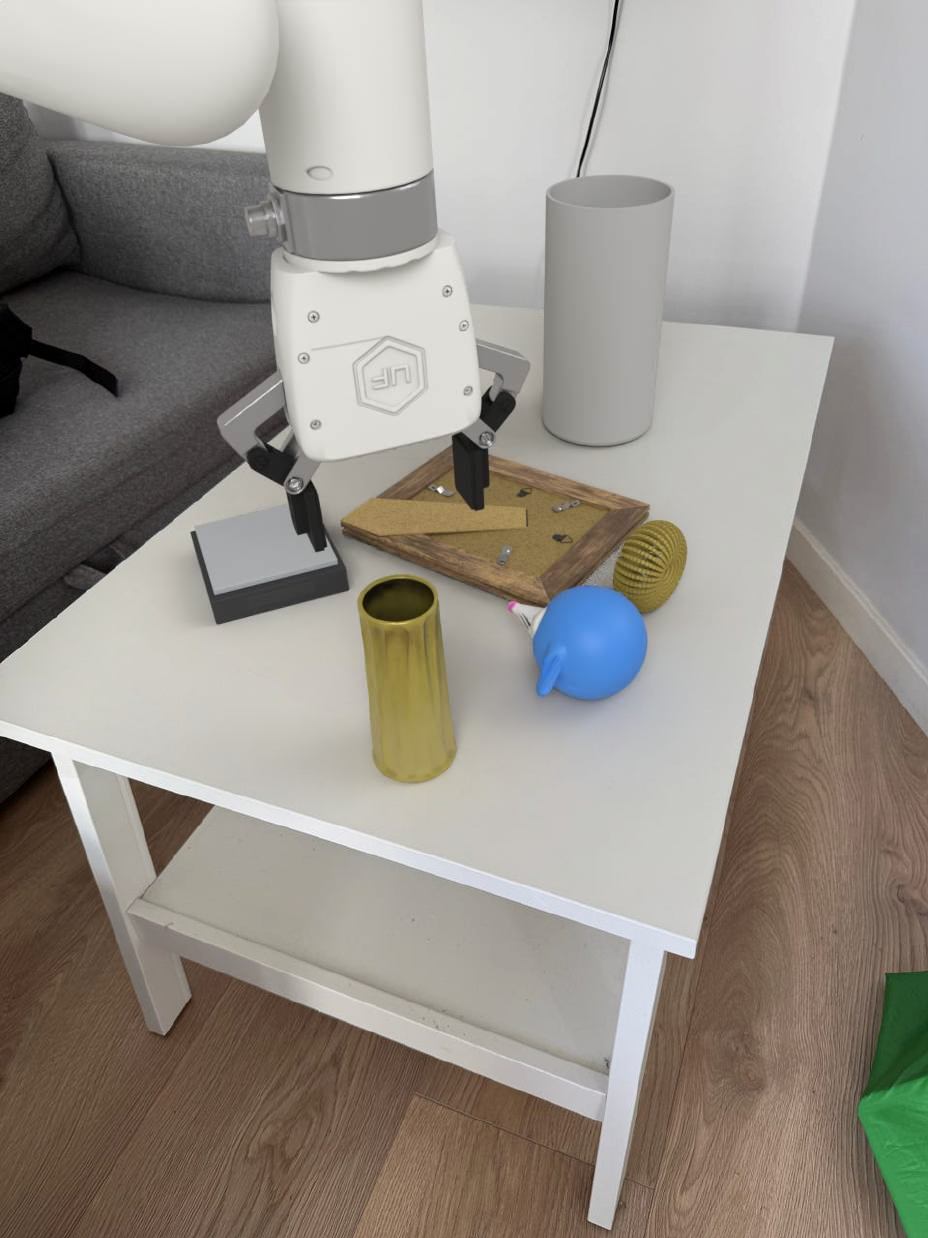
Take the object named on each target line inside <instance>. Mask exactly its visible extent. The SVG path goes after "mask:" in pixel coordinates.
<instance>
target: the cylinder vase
mask: <svg viewBox="0 0 928 1238" xmlns="http://www.w3.org/2000/svg"><path fill="white" fill-rule="evenodd" d="M675 195H676V190H675V187H673V185H671V184H669V183H668V182H665V181H663V180H660V179H656V178H652V177H648V176H647V177H646V176H639V175H632V174H631V175H630V174H596V175H595V174H594V175H586V176H577V177H573V178H569V179H568V178H567V179H563V180H560V181H558V182H555V183H554V184H551V185H550V186H549V187H547V188H546V191H545V223H544V224H545V225H544V226H545V227H544V229H545V230H544V236H545V237H544V243H545V245H544V289H543V290H544V292H543V293H544V295H543V296H544V297H543V306H544V307H543V354H542V355H543V356H542V357H543V360H542V361H543V362H542V421H543V424H544V426H545V428H546V429H547V431H549V432H550V433H551V434H553V435H554V436H555V437H557V438H559V439H560V440H562V441H566V442H568V443H571V444H575V445H579V446H588V447H610V446H617V445H622V444H626V443H629V442H631V441H634V440H636V439H638V438H640V437H641V436H643V435H644V434H645V433H646V432H648V430H649V428H650V427H651V426H652V423H653V419H654V409H655V408H654V407H655V399H656V388H657V379H658V378H657V377H658V367H659V357H660V347H661V338H662V327H663V317H664V307H665V295H666V287H667V286H666V285H667V278H668V277H667V275H668V266H669V256H670V246H671V237H672V236H671V235H672V225H673V216H674V205H675Z"/></svg>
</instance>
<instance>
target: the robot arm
mask: <svg viewBox="0 0 928 1238" xmlns="http://www.w3.org/2000/svg"><path fill="white" fill-rule="evenodd" d="M424 20H425V19H424V7H423V0H0V93H1V94H5V95H7V96H11V97H13V98H15V99H20V100H23V101H25V102H27V103H31V104H34V105H37V106H39V107H41V108H42V107H43V108H45V109H48V110H51V111H54V112H55V113H56V112H57V113H60V114H62V115H65V116H67V117H70V118H74V119H75V120H79V121H82V122H84V123H87V124H90V125H93V126H96V127H99V128H102V129H104V130H107V131H111V132H113V133H117V134H118V135H119V134H120V135H122V136H125V137H129V138H132V139H136V140H139V141H142V142H146V143H149V144H153V145H159V146H165V147H187V148H188V147H194V146H200V145H206V144H211V143H213V142H216V141H217V140H218V141H219V140H221V139H223V138H225V137H228V136H229V135H231V134H233V133H234V132H235V131H236V130H238V129H240V128H242V127H243V126H244V125H245V124H246V123H247V122H248V121H249V120H250V119H251V117H252V116H253V115H254V114H255V113H256V112H257V111H258V115H259V121H260V126H261V132H262V139H263V143H264V149H265V154H266V160H267V167H268V172H269V176H270V180H269V181H267V184H268V190H269V192H266V199H265V200H260V201H259V204H253V205H248V206H244V207H243V209H244V210H243V211H244V219H245V223H246V227H247V230H248V234H249V236H250V238H251V239H253V238H258V237H264V236H266V238H267V239H273V238H274V239H275V240H276V241H277V243H278V244H281V246H280V247H277V248H276V249H274V250H273V251H272V253H271V257H270V308H271V310H270V311H271V322H272V323H271V324H272V334H273V344H274V353H275V362H276V369H277V370H276V371H275V372H274V373H273V374H271V375H270V376H269V377H267V378H266V379H265V380H263V381H262V382H261V383H260V384H258V385H257V386H256V387H255V388H253V389H252V390H251V391H249V392H248V393H246V395H244V396H243V397H242V398H240V399H239V400H237V401H236V402H235V403H234V404H233V405H231V406H230V407H229V408H227V409H226V410H225V411H224V412H222V413H221V414H219V416H218V417H217V419H216V425H217V427H218V430H219V433H220V435H221V437H222V438H223V439H224V440H225V441H226V443H227V444H228V445H229V446H230V447H231V448H232V449H233V450H234V451H235V452H236V453H237V455H239V456H240V457H241V458H242V459H243V460H244V461H245V462H246V464H248V467H250V469H251V470H252V471H253V472H256V473H257V474H259V475H261V476H263V477H265V478H266V479H268V480H270V481H272V482H273V483H276V484H278V485H279V486H281V487H283V488H284V491H285V494H286V499H287V505H288V504H289V509H290V514H291V519H292V523H293V526H294V529H295V531H296V533H297V535H302V534H306V533H307V535H308V537H309V540H310V542H311V544H312V546H313V548H314V550H315V552H320V551H324V550H325V548H326V547H327V541H326V536H325V530H324V525H325V523H324V519H323V514H322V507H321V503H320V502H321V501H320V497H319V494H318V490H317V488H316V486H315V484H314V482H313V480H312V478H313V476H314V475H315V473H316V471H317V470H318V468H319V466H320V465H321V463H338V462H344V461H350V460H353V459H357V458H363V457H366V456H371V455H376V454H381V453H385V452H388V451H392V450H397V449H401V448H406V447H410V446H413V445H414V446H415V445H418V444H422V443H426V442H430V441H435V440H439V439H442V438H446V437H450V436H451V445H452V449H453V464H454V478H455V487H456V490H457V491H458V493H459V494H460V495H461V497H462V498H463V499H464V500H465V502H466V503H467V504H468V506H469V507H470V508H471V510H473V509H474V510H475V511H478V510H482V509H484V488H488V487H489V485H490V480H489V455H490V454H489V448H491V447H492V446H493V445H494V444H495V443H496V440H497V435H496V434H497V432H498V431H499V429H500V428H501V427H502V426H503V424H504V423H505V422H506V420H507V419H508V418H509V416H510V415H511V414H512V413H513V411H514V410H515V408H516V407H517V401H516V399H517V396H518V394H519V395H520V393H521V390H522V388H523V386H524V383H525V382H526V379H527V377H528V375H529V372H530V371H531V370H530V369H531V363H530V361H529V359H528V358H526V357H525V356H524V355H523V354H522V353H520V352H519V351H517V350H515V349H511V348H508V347H505V346H502V345H500V344H495V343H492V342H490V341H486V340H483V339H480V338H478V337H476V334H475V327H474V321H473V315H472V308H471V307H472V306H471V302H470V297H469V291H468V284H467V280H466V275H465V272H464V267H463V262H462V258H461V254H460V251H459V247H458V244H457V240H456V236H454V235H452V234H451V233H450V232H447V231H445V230H444V229H442V228H440V227H438V215H437V214H438V213H437V198H436V197H437V196H436V184H435V170H434V155H433V139H432V124H431V111H430V95H429V82H428V81H429V79H428V67H427V65H428V63H427V51H426V37H425V36H426V35H425V34H426V33H425V21H424ZM480 369H482V370H485V371H488V372H492V373H495V374H494V378H493V380H492V381H493V383H492V385H490V386H489V387H488V388H487V389H486V391H485V392H484V393H483V394H482V384H481V374H480ZM282 409H283V411H284V415H285V419H286V422H287V423H288V425H289V426H290V427H291V430H290V431H289V433H288V435H287V436H286V438H285V440H284V441H283V443H282V444H281V446H280V448H276V447H274V446H273V445H271V444H269V443H268V442H266V441H264V440H263V439H260V438H259V437H258V436H257V434H256V433H255V432H256V430H257V428H259V427H260V426H261V425H262V424H263V423H265V422H266V421H267V420H269V419H270V418H271V417H273V416H274V415H275V414H277V413H278V412H280V410H282ZM488 454H489V455H488ZM323 523H324V524H323Z"/></svg>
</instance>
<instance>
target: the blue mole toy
mask: <svg viewBox="0 0 928 1238" xmlns="http://www.w3.org/2000/svg"><path fill="white" fill-rule="evenodd" d="M507 608H508V609H507V610H508V611H509V612H510V613H513V614H514V615H516V617H518V619H519V621H521V623H522V626H523V627H524V628H525V629H526V631H527V632H528V634H529V636H530V638H531V641H532V654H533V658H534V661H535V663H536V666H537V668H538V669H539V671H540V674H539V677H538V680H537V683H536V686H535V694H536V695H537V696H538V697H540V698H544V697H546V696H548V695H549V694H550V692H552V689H553V688H555V689H556V690H558V691H559V692H561V693H562V694H564V695H566V696H569V697H571V698H573V699H579V700H584V701H585V700H586V701H595V700H597V701H598V700H603V699H607V698H609V697H613V696H615V695H616V694H619V693H620V692H621V691H623V690H624V689H626V688H627V687H628V686H629V685H630V684H631V683H632V682H633V681H634V679H636V677H638V675H639V672H640V671H641V669H642V667H643V664H644V662H645V659H646V656H647V651H648V644H649V643H648V642H649V641H648V640H649V639H648V630H647V626H646V623H645V620H644V618H643V616H642V614H641V613H640V612H639V611H638V609H637V608H636V607H635V606H634V604H633V603H632V602H631V601H630V600H628V599H627V598H626V597H625V596H624V595H622V594H621V593H620V592H617V591H615V590H614V589H612V588H610V587H607V586H602V585H594V584H593V585H592V584H586V585H585V584H584V585H580V586H578V587H574V588H571V589H567V590H565V591H563V592H561V593H560V594H558V595H557V596H556V597H554V598H553V599H552V600H551V602H550V603H549V604H548V605H547V606H546V607H545V608H540V607H534V606H529V605H524V604H519V603H518V602H516V601H510V602H508V605H507Z"/></svg>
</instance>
